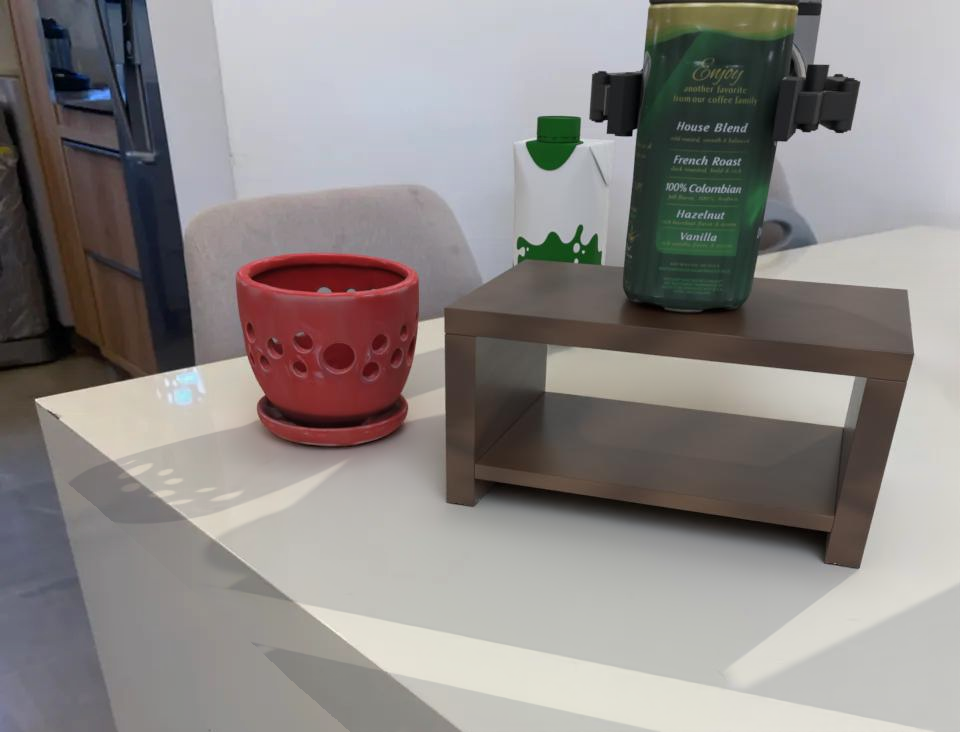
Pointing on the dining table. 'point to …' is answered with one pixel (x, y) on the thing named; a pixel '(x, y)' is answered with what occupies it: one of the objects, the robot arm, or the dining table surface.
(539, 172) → the milk carton
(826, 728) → the dining table surface
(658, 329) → the shelf
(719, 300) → the coffee jar
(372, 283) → the flower pot
